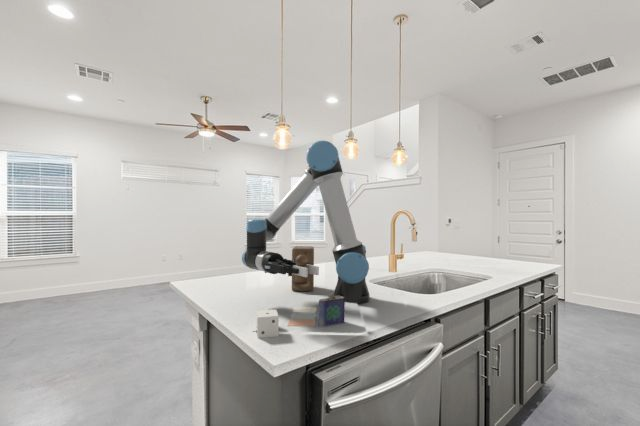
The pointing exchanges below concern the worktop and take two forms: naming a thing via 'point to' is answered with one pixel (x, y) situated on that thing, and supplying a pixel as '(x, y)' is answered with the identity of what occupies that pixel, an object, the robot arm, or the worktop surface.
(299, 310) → the board
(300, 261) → the pawn
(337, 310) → the flask
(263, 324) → the white die
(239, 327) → the worktop surface
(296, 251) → the wooden block
